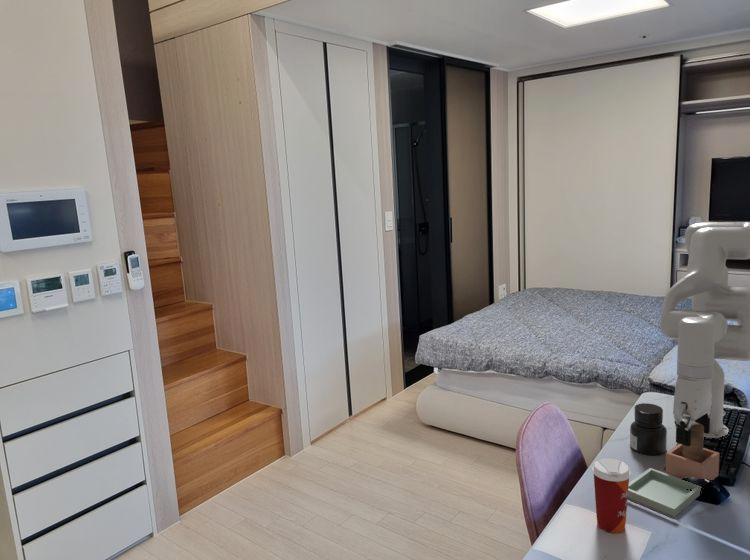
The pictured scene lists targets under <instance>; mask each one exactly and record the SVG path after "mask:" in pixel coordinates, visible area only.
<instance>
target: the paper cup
mask: <svg viewBox="0 0 750 560" xmlns="http://www.w3.org/2000/svg"><path fill="white" fill-rule="evenodd" d="M591 472H592V473H593V483H594V485H593V486H594V498H595V499H594V500H595V510H596V511H595V512H596V523H597V526H598V528H599V529H600V530H601V531H603V532H606V533H608V534H621V533H623V532H624V531H625V530H626V523H627V512H628V511H627V510H628V499H629V498H628V486H629V482H630V478H631V475H632V473H631V470H630V468H629V466H628V464H626V463H625V462H624V461H621V460H619V459H615V458H614V459H613V458H601V459H598V460H596V461H595V462H594V463H593V466H592V468H591Z"/></svg>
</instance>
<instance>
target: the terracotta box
mask: <svg viewBox="0 0 750 560" xmlns="http://www.w3.org/2000/svg"><path fill="white" fill-rule="evenodd" d="M719 472H720V452H718V451H714V450H713V449H712V450H711V449H708V448H705V447H703V462H702V463H699V462H696V461H693V460H690V459H687V458H684V457H682V444H679V443H677V444H676V445H675V446H673V448H671V449H670V450H668V451H666V452H665V473H666V474H669V475H671V476H674V477H677V478H680V479H683V478H685V477H694V478H701V479H709V480H713V481H714V480H715V479H716V478H718V476H719V475H720V474H719Z"/></svg>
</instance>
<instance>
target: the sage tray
mask: <svg viewBox="0 0 750 560" xmlns="http://www.w3.org/2000/svg"><path fill="white" fill-rule="evenodd" d="M701 488H702V487H701V486H699V485H696V484H693V483H691V482H688V481H685V480H682V479H680V478H677V477H674V476H671V475H669V474H666V472H663V471H661V470H657V469H656V468H652V467H649V468H647V469H646V470H645V471H644V472H642V473H640V474H639V475H638V476H636V477H635V478H633V479H632V480H631V481H629V486H628V499H627V501H630V502H632V503H635V504H637V505H639V506H642V507H644V508H647V509H650V510H652V511H654V512H656V513H659V514H660V515H663V516H666V517H668V518H670V519H672V520H675V517H676V516H677V515H678V514H680V513H681V512H682V511H683V510H684V509H686V508H687V507H688V506H689V505H690V504H691V503H693V502H694V501H695V500H696V499H698V498H699V497H700V496H701V495H700V491H701ZM687 489H688V490H687ZM690 489H691V490H692V491H690ZM701 492H702V491H701Z"/></svg>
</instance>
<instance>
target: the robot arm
mask: <svg viewBox="0 0 750 560" xmlns="http://www.w3.org/2000/svg"><path fill="white" fill-rule="evenodd" d="M684 232H685V233H684V242H685V247H686V252H687V255H688V260H687V267H686V275H684V276H683V277H681V278H680V279H679V280H677V281H676V282H675V283H674V284H673V285H672V286H671V287H670V288H669V289H668V290H667V292H666V293H665V296H664V299H663V303H662V308H661V314H660V321H659V322H660V324H659V328H660V332H661V333H662V335H663V336H664V337H665V338H668V339H672V340H677V356H676V357H677V360H676V361H677V362H676V375H677V378H676V381H675V382H676V383H675V386H674V387H675V389H674V397H673V398H674V399H673V408H672V410H673V411H672V414H673V419H674V426H675V442H676V444H682V445H685V446H690V445H691V430H689V429H690V426H691V423H692V422H696V423H700V424H702V425H703V426H704V437H706V438H719V437H722V436H725V435H727V434H728V432H729V433H730V429H729V428H728V427H727V426H726V425H725V424H724V423H723V420H724V416H725V415H726V411H725V410H724V397H725V379H726V378H725V376H726V375H725V372H724V369H723V367H722V366H721V365H720V363H719V362H718V360H727V361H729V360H730V361H737V362H738V361H739V362H749V361H750V287H745V286H729V284H728V283H729V269H728V266H726V263H727V260H750V221H706V222H705V221H704V222H697V223H693V224H690V225H688V226H687V228H686V229H685V231H684ZM690 297H691V309H681V308H676V307H677V305H678V304H680V302H682V301H684V300H686V299H687V298H690ZM728 321H729V322H735V323H737V324H728ZM716 359H717V360H716ZM685 422H687V424H685ZM728 435H729V434H728Z"/></svg>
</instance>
